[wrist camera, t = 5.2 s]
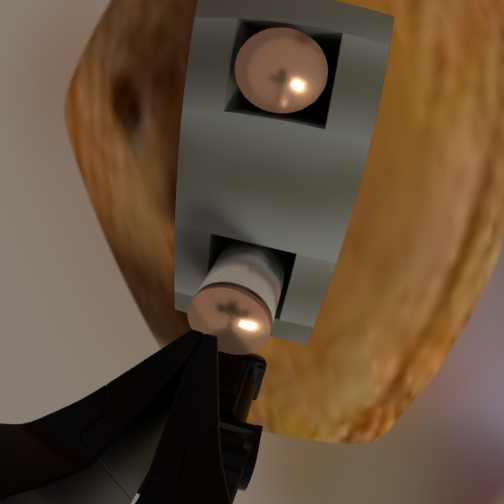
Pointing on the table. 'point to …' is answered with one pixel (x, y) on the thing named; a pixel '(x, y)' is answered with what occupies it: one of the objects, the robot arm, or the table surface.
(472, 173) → the table surface
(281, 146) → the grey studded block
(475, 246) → the table surface
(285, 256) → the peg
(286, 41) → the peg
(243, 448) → the robot arm
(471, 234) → the table surface
